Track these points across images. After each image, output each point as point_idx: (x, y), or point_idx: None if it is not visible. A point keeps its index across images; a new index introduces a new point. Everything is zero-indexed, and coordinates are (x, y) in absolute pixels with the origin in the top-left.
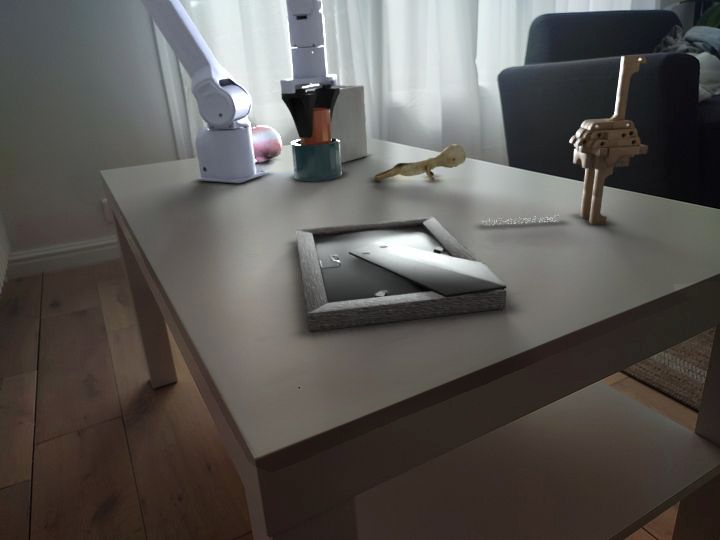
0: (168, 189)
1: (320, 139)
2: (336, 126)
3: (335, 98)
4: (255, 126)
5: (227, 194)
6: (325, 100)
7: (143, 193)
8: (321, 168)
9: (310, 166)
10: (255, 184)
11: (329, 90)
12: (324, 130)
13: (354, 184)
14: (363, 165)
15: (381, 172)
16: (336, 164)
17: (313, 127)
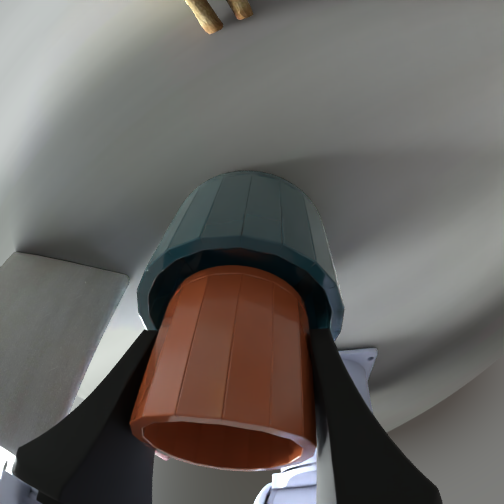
0: (406, 395)
1: (282, 296)
2: (52, 347)
3: (55, 440)
4: (169, 457)
5: (447, 318)
6: (112, 462)
7: (424, 399)
8: (310, 213)
9: (329, 248)
10: (371, 325)
11: (84, 501)
12: (255, 318)
13: (312, 65)
14: (74, 197)
15: (201, 11)
16: (247, 187)
17: (306, 360)
